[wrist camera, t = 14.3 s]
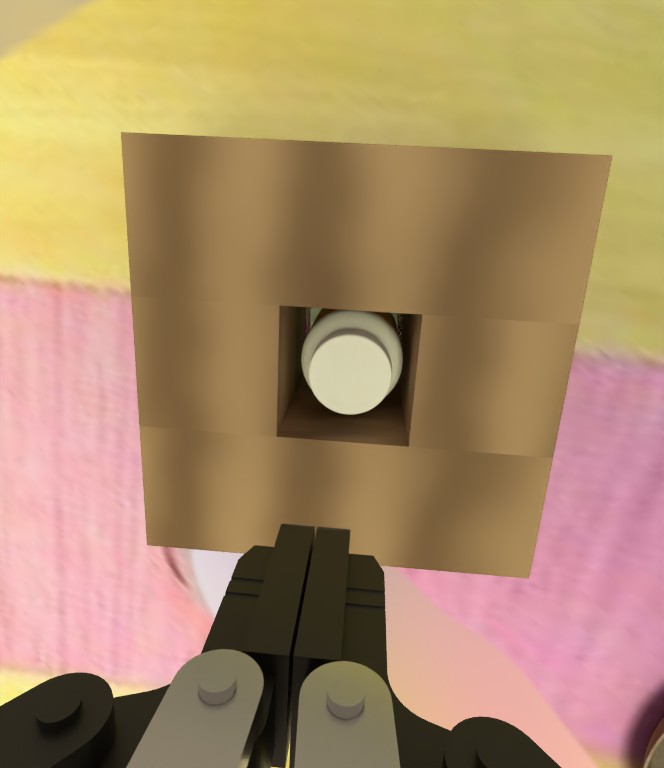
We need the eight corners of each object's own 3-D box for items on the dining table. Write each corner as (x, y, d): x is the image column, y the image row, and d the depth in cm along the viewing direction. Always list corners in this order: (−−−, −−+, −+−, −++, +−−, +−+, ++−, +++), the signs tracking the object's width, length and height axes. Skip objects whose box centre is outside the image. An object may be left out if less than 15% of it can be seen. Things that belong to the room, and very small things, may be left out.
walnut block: (531, 177, 31) (612, 155, 21) (484, 477, 37) (529, 578, 27) (201, 160, 32) (120, 132, 22) (207, 456, 38) (147, 544, 28)
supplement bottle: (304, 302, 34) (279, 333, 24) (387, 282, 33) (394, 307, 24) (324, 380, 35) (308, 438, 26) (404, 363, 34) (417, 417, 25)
